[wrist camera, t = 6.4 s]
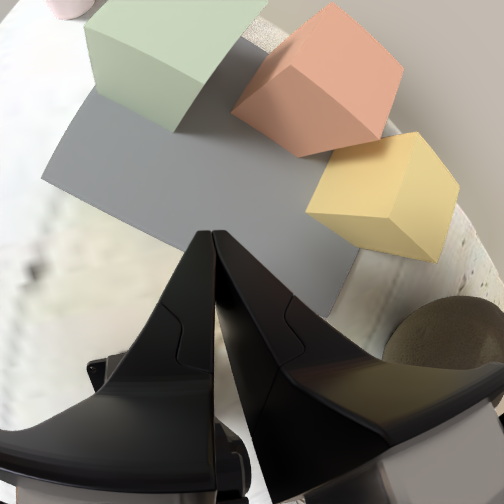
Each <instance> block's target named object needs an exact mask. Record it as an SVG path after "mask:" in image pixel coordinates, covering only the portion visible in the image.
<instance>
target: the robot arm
mask: <svg viewBox="0 0 504 504" xmlns="http://www.w3.org/2000/svg"><path fill="white" fill-rule="evenodd" d="M215 306H216V311H217V315H218V319H219V323H220V327H221V331H222V335H223V339H224V342H225V346H226V350H227V354H228V358H229V361H230V365H231V369H232V373H233V376H234V380H235V384H236V387H237V391H238V394H239V398H240V401H241V405H242V408H243V412H244V415H245V419H246V422H247V425H248V429H249V432H250V435H251V437H252V442H253V445H254V449H255V452H256V455H257V458H258V461H259V464H260V468H261V471H262V474H263V477H264V480H265V483H266V486H267V489H268V492H269V495H270V498H271V501H272V504H283V503H287V502H291V501H296V500H300V499H304V501H305V504H504V413H503V414H502V415H500V416H499V417H498V415H497V413H496V411H495V409H494V407H493V405H492V403H491V402H492V401H493V400H494V399H495V398H496V397H498V396H499V395H500V394H501V393H502V392H503V391H504V363H500V362H489V363H487V364H485V365H483V366H481V367H479V368H476V369H471V370H449V369H439V368H429V367H419V366H411V365H403V364H395V363H389V362H385V361H382V360H380V359H377V358H375V357H374V356H372V355H370V354H369V353H367V352H366V351H364V350H363V349H362V348H360V347H359V346H358V345H356V344H355V343H354V342H352V341H351V340H350V339H348V338H347V337H346V336H344V335H343V334H342V333H340V332H339V331H338V330H336V329H335V328H334V327H332V326H331V325H330V324H328V323H327V322H326V321H325V320H323V319H322V318H321V317H320V316H318V315H317V314H316V313H315V312H314V311H312V310H311V309H310V308H309V307H308V306H307V305H306V304H305V303H303V302H302V301H301V300H300V299H299V298H298V297H297V296H296V295H294V294H293V292H292V291H290V290H289V289H288V288H287V287H286V286H285V285H284V284H283V283H282V282H281V281H280V280H279V279H278V278H277V277H276V276H274V275H273V274H272V273H271V272H270V271H269V270H268V269H267V268H266V267H265V266H264V265H263V264H262V263H261V262H260V261H259V260H257V259H256V258H255V257H254V256H253V255H252V254H251V253H250V252H249V251H248V250H247V249H246V248H245V247H244V246H243V245H241V244H240V243H239V242H238V241H237V240H236V239H235V238H234V237H233V236H232V235H231V234H230V233H229V232H228V231H226V230H213V231H212V232H211V231H210V230H198V231H197V232H196V233H195V235H194V237H193V238H192V240H191V242H190V244H189V245H188V247H187V249H186V251H185V253H184V254H183V256H182V258H181V260H180V262H179V263H178V265H177V267H176V269H175V271H174V273H173V274H172V276H171V278H170V280H169V282H168V284H167V286H166V287H165V289H164V291H163V293H162V295H161V297H160V299H159V301H158V303H157V304H156V306H155V308H154V310H153V312H152V314H151V316H150V317H149V319H148V321H147V323H146V324H145V326H144V328H143V329H142V331H141V332H140V334H139V335H138V337H137V338H136V340H135V341H134V343H133V344H132V346H131V347H130V348H129V350H128V351H127V353H122V354H117V355H111V356H108V358H107V359H101V360H95V361H90V362H89V363H88V364H87V372H88V375H89V378H90V380H91V383H92V385H93V388H94V390H95V394H93V395H92V396H90V397H89V398H87V399H85V400H83V401H81V402H80V403H78V404H76V405H74V406H72V407H70V408H69V409H67V410H65V411H63V412H61V413H59V414H57V415H55V416H53V417H52V418H50V419H48V420H46V421H44V422H42V423H40V424H38V425H36V426H33V427H31V428H28V429H24V430H19V431H7V430H1V429H0V480H2V481H4V482H6V483H9V484H11V485H13V486H16V504H249V500H248V498H247V497H245V494H246V493H247V492H248V491H249V488H250V485H251V465H250V459H249V455H248V452H247V449H246V447H245V445H244V443H243V441H242V440H241V438H240V437H239V436H238V435H236V434H235V433H234V432H233V431H231V430H230V429H229V428H228V427H227V426H225V425H224V424H223V423H222V422H221V421H219V420H218V419H217V418H216V417H215V416H214V330H215ZM92 366H93V367H95V368H96V369H95V370H92V369H91V368H90V367H92ZM0 504H8V503H5V502H2V501H0Z"/></svg>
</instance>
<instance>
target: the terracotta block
mask: <svg viewBox="0 0 504 504" xmlns="http://www.w3.org/2000/svg"><path fill="white" fill-rule="evenodd" d="M403 70H404V68H403V67H402V66H401V65H400V64H399V63H398V62H397V61H396V60H395V58H394V57H393V56H392V55H391V54H389V52H388V51H387V50H386V49H385V48H384V47H383V46H382V45H380V43H379V42H378V41H377V40H375V38H373V37H372V36H371V35H370V34H369V33H368V32H367V31H366V30H365V29H364V28H363V27H362V26H360V25H359V24H358V23H357V22H356V21H355V20H354V19H352V18H351V17H350V16H349V15H348V14H346V13H345V12H344V11H343V10H342V9H340V8H339V7H338V6H337V5H335V4H334V3H333V2H331V3H330V4H328V5H327V6H326V7H325V8H323V9H322V10H321V11H319V12H318V13H317V14H316V15H314V16H313V17H312V18H311V19H309V20H308V21H307V22H306V23H304V24H303V25H302V26H301V27H300V28H299V29H297V30H296V31H295V32H294V33H292V34H291V35H290V36H289V37H288V38H287V39H286V40H284V41H283V42H282V43H281V44H280V45H279V46H278V47H276V48H275V49H274V50H273V51H272V52H271V53H270V54H269V55H268V56H267V57H266V58H265V60H264V61H263V63H262V64H261V66H260V67H259V69H258V70H257V72H256V73H255V75H254V76H253V78H252V79H251V81H250V82H249V84H248V85H247V87H246V88H245V90H244V92H243V93H242V95H241V96H240V98H239V99H238V101H237V103H236V104H235V106H234V107H233V109H232V111H231V112H230V113H231V114H233V115H234V116H236V117H237V118H239V119H241V120H242V121H244V122H245V123H247V124H249V125H250V126H252V127H253V128H255V129H256V130H258V131H259V132H261V133H262V134H264V135H265V136H267V137H268V138H270V139H271V140H273V141H274V142H276V143H277V144H279V145H280V146H282V147H283V148H285V149H286V150H287V151H289V152H290V153H292V154H293V155H295V156H296V157H297V158H299V157H303V156H307V155H312V154H316V153H320V152H325V151H329V150H333V149H338V148H343V147H347V146H352V145H357V144H362V143H367V142H372V141H377V140H380V138H381V135H382V133H383V130H384V127H385V124H386V122H387V119H388V116H389V113H390V110H391V107H392V104H393V101H394V98H395V96H396V93H397V89H398V86H399V83H400V80H401V77H402V74H403Z"/></svg>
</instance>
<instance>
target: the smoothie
mask: <svg viewBox="0 0 504 504" xmlns="http://www.w3.org/2000/svg"><path fill="white" fill-rule="evenodd" d="M45 2H46V3H47V5H48V7H49V9H50V10H51V12H52V14H53V15H54V17H56V18H58V19H61V20H69V19H74V18H77V17H79V16H81V15H83V14H84V13H86V12H87V11H88V10H89V9H90V8H91V7H92V6H93V4H94V2H95V0H45Z"/></svg>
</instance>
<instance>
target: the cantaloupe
mask: <svg viewBox="0 0 504 504" xmlns="http://www.w3.org/2000/svg"><path fill="white" fill-rule="evenodd" d="M382 361H385V362H389V363H395V364H403V365H411V366H419V367H429V368H439V369H449V370H471V369H476V368H479V367H481V366H483V365H485V364H487V363H489V362H500V363H504V313H503V312H502V311H501V310H500V309H499V307H498V306H496V305H495V304H493V303H492V302H490V301H487V300H485V299H482V298H478V297H470V296H451V297H446V298H441V299H439V300H436V301H433V302H431V303H429V304H427V305H425V306H423V307H421V308H419V309H418V310H416V311H415V312H413V313H412V314H411V315H409V316H408V317H407V318H406V319H405V320H404V321H403V322H402V323H401V324H400V325H399V326H398V328H397V329H396V330H395V332H394V333H393V335H392V336H391V338H390V339H389V341H388V343H387V345H386V347H385V350H384V353H383V357H382ZM503 395H504V391H503V392H502V393H501V394H500V395H499V396H498V397H496V398H495V399H494V400H493V401H492V402H491V403H492V405H493V407H494V409H495V408H496V407H497V405H498V404H499V402H500V401H501V399H502V397H503Z"/></svg>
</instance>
